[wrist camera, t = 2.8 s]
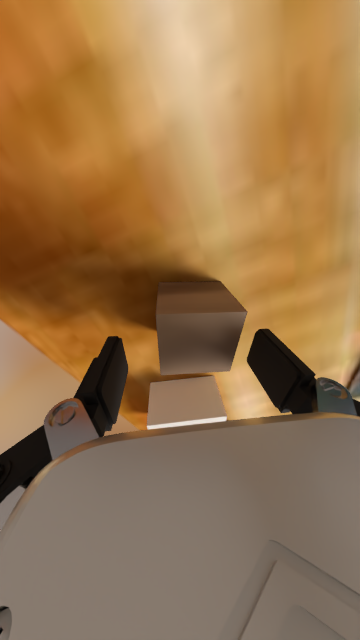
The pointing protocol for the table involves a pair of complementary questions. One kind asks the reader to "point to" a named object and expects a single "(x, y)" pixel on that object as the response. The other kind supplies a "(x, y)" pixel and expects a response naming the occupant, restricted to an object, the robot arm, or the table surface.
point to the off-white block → (184, 403)
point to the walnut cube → (197, 327)
